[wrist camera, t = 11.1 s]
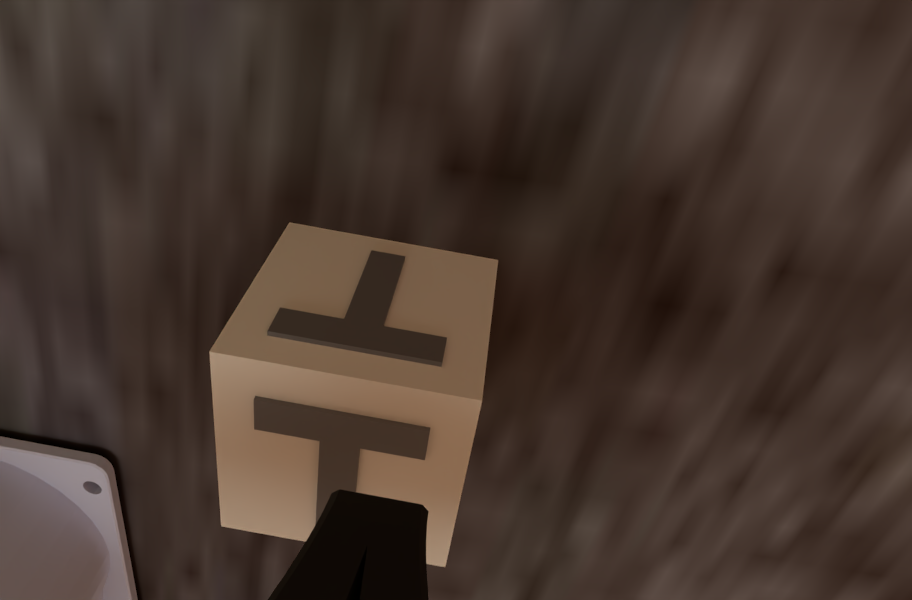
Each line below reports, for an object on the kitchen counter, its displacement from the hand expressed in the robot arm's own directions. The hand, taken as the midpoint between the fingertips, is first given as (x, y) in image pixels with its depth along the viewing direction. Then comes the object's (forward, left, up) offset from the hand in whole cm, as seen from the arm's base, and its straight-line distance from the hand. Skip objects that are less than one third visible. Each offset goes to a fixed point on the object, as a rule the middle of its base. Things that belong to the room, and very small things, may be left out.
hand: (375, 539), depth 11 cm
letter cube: (-1, +1, -6) cm, 7 cm away
